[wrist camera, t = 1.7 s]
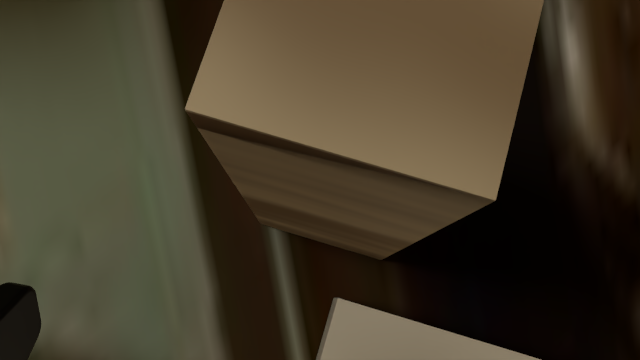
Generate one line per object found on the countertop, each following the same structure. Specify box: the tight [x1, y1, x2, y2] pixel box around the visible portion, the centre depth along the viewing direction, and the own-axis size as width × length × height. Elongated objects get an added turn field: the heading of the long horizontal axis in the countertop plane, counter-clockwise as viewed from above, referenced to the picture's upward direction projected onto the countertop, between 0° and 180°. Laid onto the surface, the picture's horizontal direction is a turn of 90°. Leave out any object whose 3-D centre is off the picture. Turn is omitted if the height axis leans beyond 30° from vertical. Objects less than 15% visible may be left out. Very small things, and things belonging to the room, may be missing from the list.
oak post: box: [185, 0, 544, 260], centre depth 15 cm, size 4×4×13 cm
